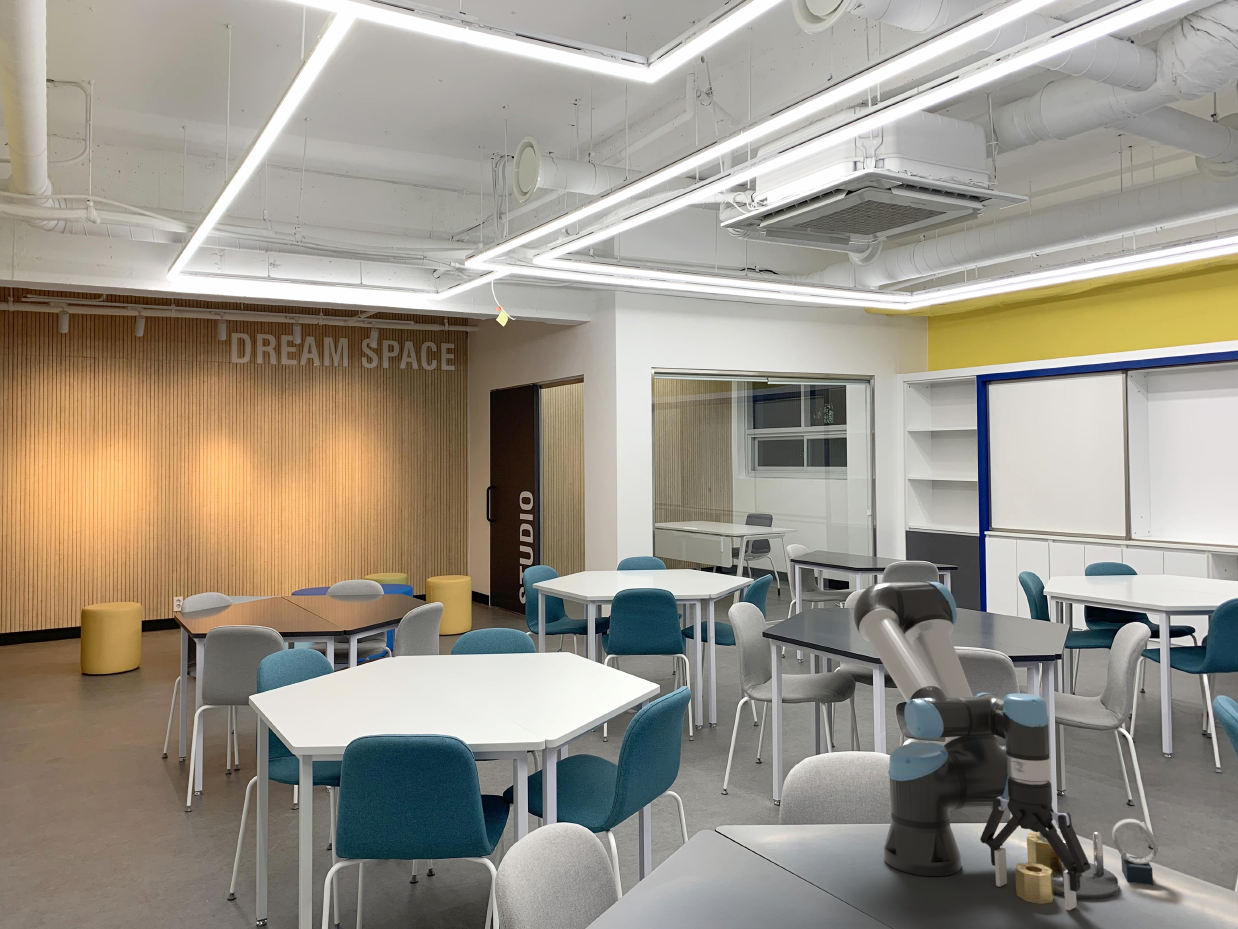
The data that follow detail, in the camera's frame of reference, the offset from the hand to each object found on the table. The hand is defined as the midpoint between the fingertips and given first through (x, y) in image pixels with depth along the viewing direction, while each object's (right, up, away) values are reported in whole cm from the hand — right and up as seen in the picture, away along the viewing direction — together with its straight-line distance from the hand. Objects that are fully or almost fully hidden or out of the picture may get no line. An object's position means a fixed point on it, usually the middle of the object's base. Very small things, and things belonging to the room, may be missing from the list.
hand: (1035, 896), depth 159 cm
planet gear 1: (+8, +1, +12) cm, 14 cm away
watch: (+24, -1, +7) cm, 25 cm away
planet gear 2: (0, 0, 0) cm, 0 cm away
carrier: (+10, 0, +7) cm, 12 cm away
